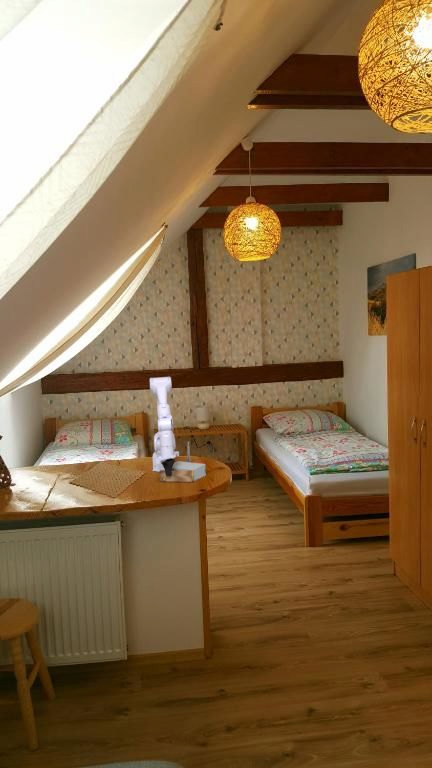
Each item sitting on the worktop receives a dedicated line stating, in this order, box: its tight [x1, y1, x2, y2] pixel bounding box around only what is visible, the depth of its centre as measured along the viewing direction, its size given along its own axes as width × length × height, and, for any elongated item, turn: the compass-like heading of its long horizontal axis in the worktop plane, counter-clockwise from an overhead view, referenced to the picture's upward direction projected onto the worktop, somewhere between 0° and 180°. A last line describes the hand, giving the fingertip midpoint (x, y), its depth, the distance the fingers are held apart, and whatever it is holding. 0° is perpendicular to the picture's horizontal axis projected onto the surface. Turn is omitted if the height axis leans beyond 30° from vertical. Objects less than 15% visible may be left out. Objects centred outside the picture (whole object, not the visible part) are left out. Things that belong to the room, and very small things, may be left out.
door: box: [158, 470, 195, 483], centre depth 247 cm, size 15×2×5 cm, turn 78°
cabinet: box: [172, 460, 207, 482], centre depth 255 cm, size 15×10×5 cm, turn 59°
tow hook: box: [186, 441, 205, 464], centre depth 270 cm, size 8×13×9 cm
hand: (168, 475), depth 247 cm, fingers closed, pressing on door
